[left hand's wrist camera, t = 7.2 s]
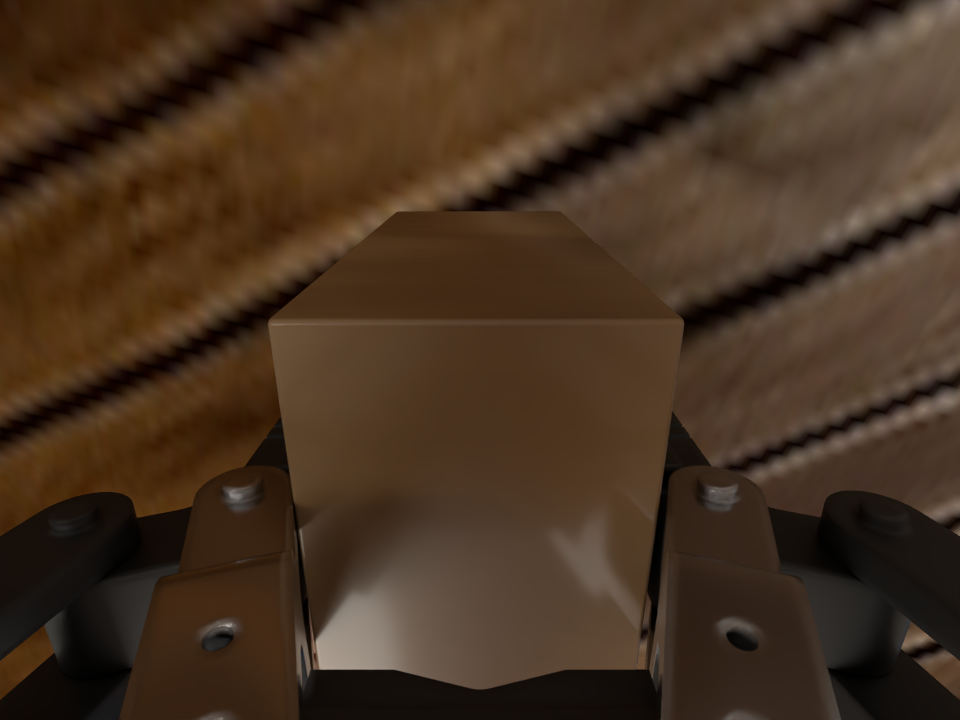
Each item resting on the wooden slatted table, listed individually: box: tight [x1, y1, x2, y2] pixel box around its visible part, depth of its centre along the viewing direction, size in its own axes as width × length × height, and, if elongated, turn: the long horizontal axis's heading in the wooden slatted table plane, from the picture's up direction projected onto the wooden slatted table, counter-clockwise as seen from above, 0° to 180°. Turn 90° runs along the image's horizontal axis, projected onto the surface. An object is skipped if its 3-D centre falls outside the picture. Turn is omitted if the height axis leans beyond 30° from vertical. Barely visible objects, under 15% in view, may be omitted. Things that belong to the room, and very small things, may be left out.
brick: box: [268, 212, 684, 689], centre depth 12 cm, size 5×7×10 cm, turn 0°
